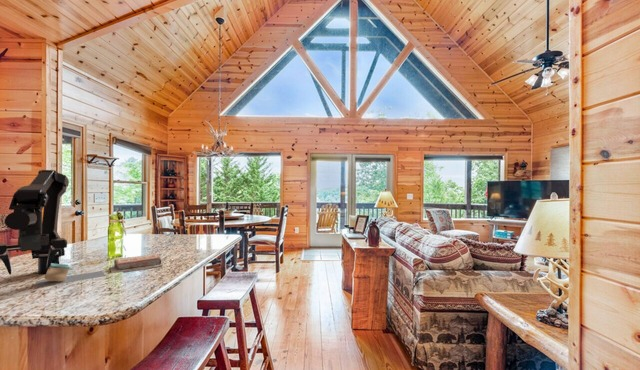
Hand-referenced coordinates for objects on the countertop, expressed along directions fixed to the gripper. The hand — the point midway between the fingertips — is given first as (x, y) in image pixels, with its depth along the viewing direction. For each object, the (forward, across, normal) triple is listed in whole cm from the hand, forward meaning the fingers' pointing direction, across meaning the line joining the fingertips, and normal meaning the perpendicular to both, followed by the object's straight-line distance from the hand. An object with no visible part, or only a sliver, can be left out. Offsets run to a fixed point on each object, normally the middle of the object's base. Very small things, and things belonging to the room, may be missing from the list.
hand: (29, 271), depth 100 cm
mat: (+5, +11, 0) cm, 12 cm away
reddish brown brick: (+6, +32, +2) cm, 33 cm away
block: (+4, +6, 0) cm, 8 cm away
